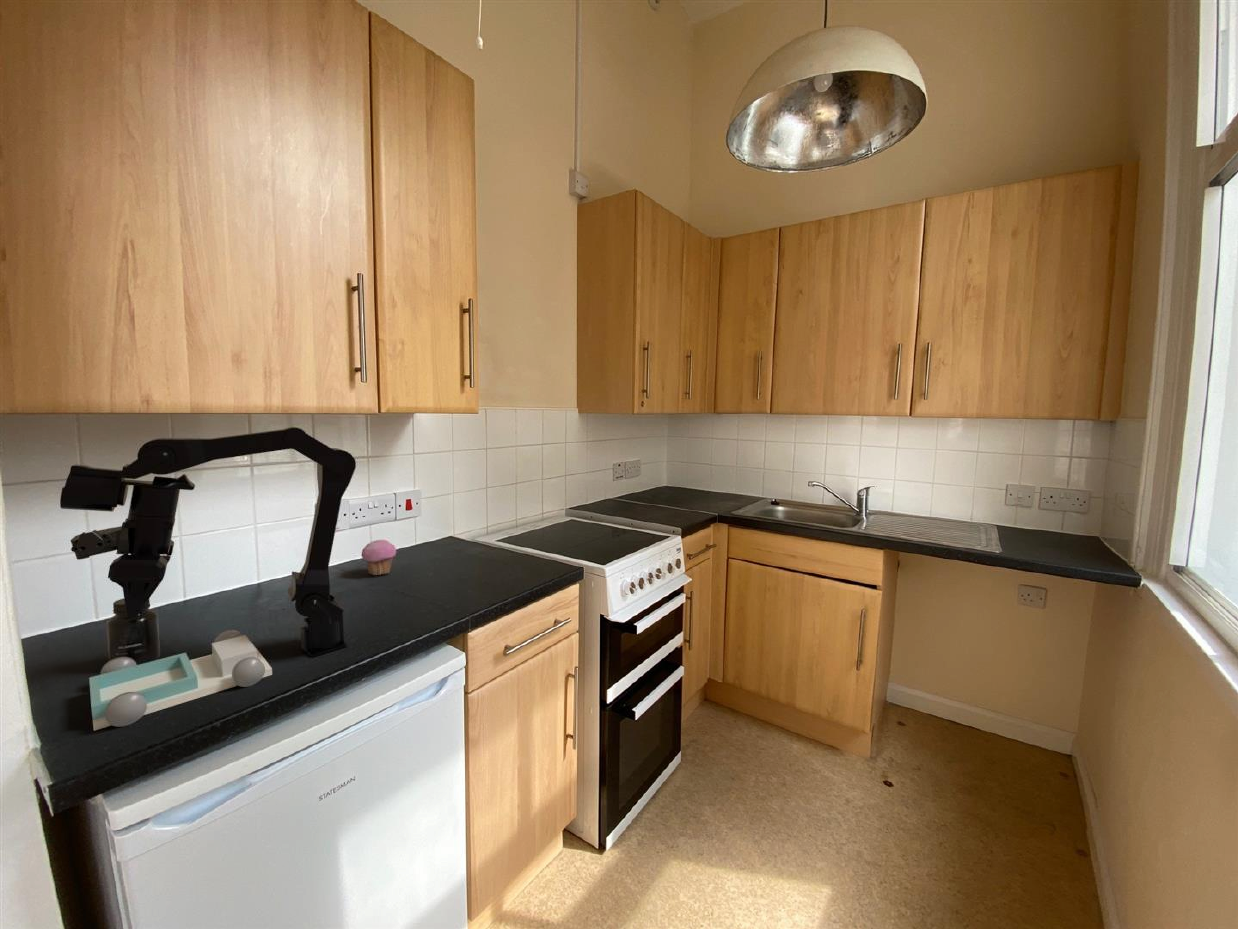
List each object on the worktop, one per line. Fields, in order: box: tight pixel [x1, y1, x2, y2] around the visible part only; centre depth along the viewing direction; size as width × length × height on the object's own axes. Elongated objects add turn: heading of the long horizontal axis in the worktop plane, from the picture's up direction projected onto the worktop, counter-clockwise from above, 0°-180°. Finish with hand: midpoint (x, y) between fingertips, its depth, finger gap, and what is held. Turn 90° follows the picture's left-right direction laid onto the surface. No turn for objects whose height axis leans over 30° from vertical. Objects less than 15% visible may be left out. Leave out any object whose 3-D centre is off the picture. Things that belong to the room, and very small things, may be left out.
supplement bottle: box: [106, 597, 161, 665], centre depth 93 cm, size 7×7×12 cm
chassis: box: [88, 629, 273, 731], centre depth 86 cm, size 22×17×4 cm
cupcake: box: [361, 539, 397, 576], centre depth 145 cm, size 9×9×10 cm
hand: (135, 608), depth 83 cm, fingers open, 9 cm apart
